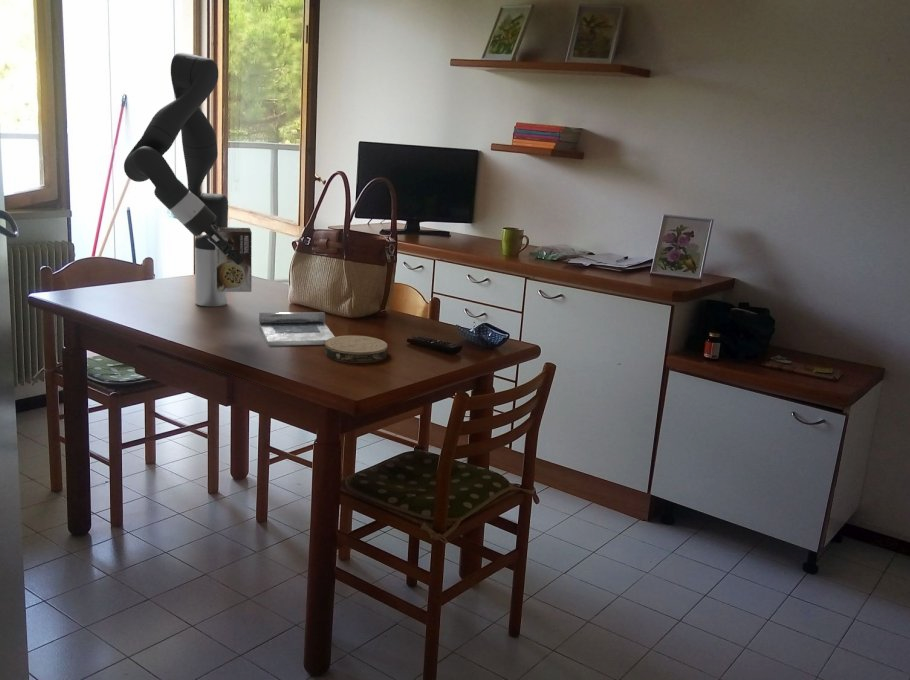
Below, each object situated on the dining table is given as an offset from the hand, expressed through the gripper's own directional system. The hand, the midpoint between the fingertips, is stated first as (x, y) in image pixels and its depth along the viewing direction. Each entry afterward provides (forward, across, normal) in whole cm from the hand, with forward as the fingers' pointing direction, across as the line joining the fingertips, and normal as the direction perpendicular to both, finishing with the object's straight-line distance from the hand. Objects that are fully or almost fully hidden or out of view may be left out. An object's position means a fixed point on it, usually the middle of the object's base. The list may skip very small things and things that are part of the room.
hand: (239, 259), depth 219 cm
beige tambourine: (+34, -22, -5) cm, 40 cm away
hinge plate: (+25, -3, +3) cm, 25 cm away
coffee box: (+5, 0, +7) cm, 8 cm away
